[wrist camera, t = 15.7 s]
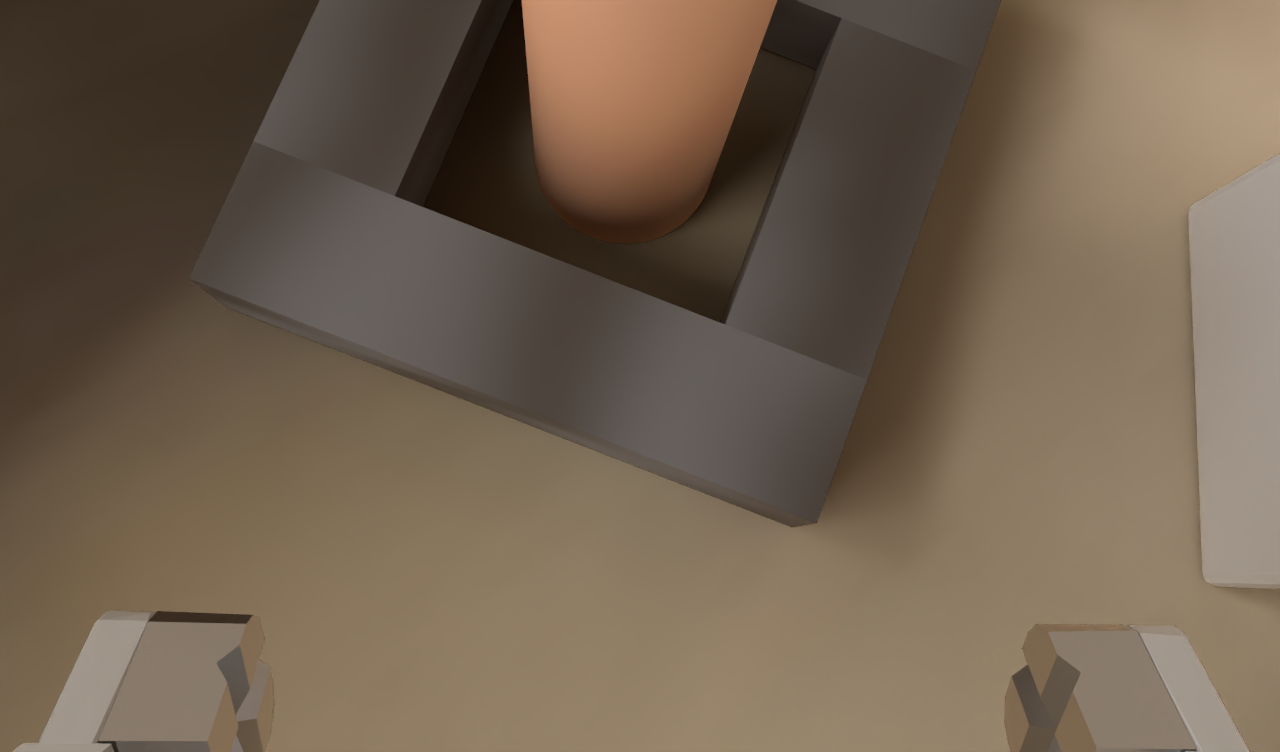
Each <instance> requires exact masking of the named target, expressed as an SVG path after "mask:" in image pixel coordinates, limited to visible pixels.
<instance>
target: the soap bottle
mask: <svg viewBox="0 0 1280 752" xmlns="http://www.w3.org/2000/svg"><path fill="white" fill-rule="evenodd" d="M1188 221H1189V247H1190V272H1191V298H1192V323H1193V349H1194V374H1195V400H1196V426H1197V451H1198V477H1199V502H1200V528H1201V553H1202V574H1203V577H1204V580H1205V581H1206V582H1207V583H1209V584H1211V585H1214V586H1216V587H1240V588H1264V589H1280V153H1279V154H1278V155H1276V156H1274V157H1273V158H1271V159H1269V160H1267V161H1266V162H1264V163H1262V164H1261V165H1259V166H1257V167H1255V168H1254V169H1252V170H1250V171H1249V172H1247V173H1245V174H1243V175H1242V176H1240V177H1238V178H1237V179H1235V180H1233V181H1231V182H1230V183H1228V184H1226V185H1225V186H1223V187H1221V188H1219V189H1218V190H1216V191H1214V192H1213V193H1211V194H1209V195H1207V196H1206V197H1204V198H1202V199H1201V200H1199V201H1197V202H1195V203H1194V204H1192V206H1191V207H1190V210H1189V214H1188Z"/></svg>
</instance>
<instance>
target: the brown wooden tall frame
mask: <svg viewBox="0 0 1280 752" xmlns="http://www.w3.org/2000/svg"><path fill="white" fill-rule="evenodd" d="M512 2H513V0H320V1H319V3H318V5H317V7H316V9H315V11H314V13H313V16H312V18H311V20H310V22H309V24H308V26H307V28H306V30H305V32H304V35H303V37H302V39H301V41H300V43H299V45H298V47H297V49H296V52H295V54H294V56H293V58H292V60H291V62H290V64H289V66H288V69H287V71H286V73H285V75H284V77H283V79H282V81H281V83H280V86H279V88H278V90H277V92H276V94H275V96H274V98H273V100H272V102H271V105H270V107H269V109H268V111H267V113H266V115H265V117H264V119H263V122H262V124H261V126H260V128H259V130H258V132H257V134H256V136H255V139H254V141H253V143H252V145H251V147H250V149H249V151H248V153H247V156H246V158H245V160H244V162H243V164H242V166H241V168H240V170H239V172H238V175H237V177H236V179H235V181H234V183H233V185H232V187H231V189H230V192H229V194H228V196H227V198H226V200H225V202H224V204H223V206H222V209H221V211H220V213H219V215H218V217H217V219H216V221H215V223H214V226H213V228H212V230H211V232H210V234H209V236H208V238H207V240H206V242H205V245H204V247H203V249H202V251H201V253H200V255H199V257H198V259H197V262H196V264H195V266H194V268H193V270H192V272H191V274H190V276H189V279H190V280H192V281H193V282H194V283H196V284H197V285H198V286H200V287H201V288H202V289H203V290H205V291H206V292H207V293H209V294H210V295H211V296H213V297H214V298H215V299H217V300H218V301H219V302H221V303H222V304H223V305H225V306H226V307H228V308H231V309H233V310H236V311H238V312H241V313H243V314H246V315H248V316H251V317H254V318H256V319H259V320H261V321H264V322H266V323H269V324H272V325H274V326H277V327H279V328H282V329H284V330H287V331H290V332H292V333H295V334H297V335H300V336H302V337H305V338H308V339H310V340H313V341H315V342H318V343H320V344H323V345H325V346H328V347H331V348H333V349H336V350H338V351H341V352H343V353H346V354H349V355H351V356H354V357H356V358H359V359H361V360H364V361H367V362H369V363H372V364H374V365H377V366H379V367H382V368H385V369H387V370H390V371H392V372H395V373H397V374H400V375H403V376H405V377H408V378H410V379H413V380H415V381H418V382H420V383H423V384H426V385H428V386H431V387H433V388H436V389H438V390H441V391H444V392H446V393H449V394H451V395H454V396H456V397H459V398H462V399H464V400H467V401H469V402H472V403H474V404H477V405H480V406H482V407H485V408H487V409H490V410H492V411H495V412H498V413H500V414H503V415H505V416H508V417H510V418H513V419H515V420H518V421H521V422H523V423H526V424H528V425H531V426H533V427H536V428H539V429H541V430H544V431H546V432H549V433H551V434H554V435H557V436H559V437H562V438H564V439H567V440H569V441H572V442H575V443H577V444H580V445H582V446H585V447H587V448H590V449H592V450H595V451H598V452H600V453H603V454H605V455H608V456H610V457H613V458H616V459H618V460H621V461H623V462H626V463H628V464H631V465H634V466H636V467H639V468H641V469H644V470H646V471H649V472H652V473H654V474H657V475H659V476H662V477H664V478H667V479H670V480H672V481H675V482H677V483H680V484H682V485H685V486H687V487H690V488H693V489H695V490H698V491H700V492H703V493H705V494H708V495H711V496H713V497H716V498H718V499H721V500H723V501H726V502H729V503H731V504H734V505H736V506H739V507H741V508H744V509H747V510H749V511H752V512H754V513H757V514H759V515H762V516H765V517H767V518H770V519H772V520H775V521H777V522H780V523H782V524H785V525H788V526H790V527H797V526H802V525H808V524H814V523H817V521H818V518H819V515H820V512H821V510H822V507H823V504H824V501H825V498H826V495H827V493H828V490H829V487H830V484H831V481H832V478H833V475H834V473H835V470H836V467H837V464H838V461H839V458H840V456H841V453H842V450H843V447H844V444H845V441H846V439H847V436H848V433H849V430H850V427H851V424H852V422H853V419H854V416H855V413H856V410H857V407H858V405H859V402H860V399H861V396H862V393H863V390H864V388H865V385H866V382H867V379H868V376H869V373H870V371H871V368H872V365H873V362H874V359H875V356H876V353H877V351H878V348H879V345H880V342H881V339H882V336H883V334H884V331H885V328H886V325H887V322H888V319H889V317H890V314H891V311H892V308H893V305H894V302H895V300H896V297H897V294H898V291H899V288H900V285H901V283H902V280H903V277H904V274H905V271H906V268H907V266H908V263H909V260H910V257H911V254H912V251H913V249H914V246H915V243H916V240H917V237H918V234H919V232H920V229H921V226H922V223H923V220H924V217H925V214H926V212H927V209H928V206H929V203H930V200H931V197H932V195H933V192H934V189H935V186H936V183H937V180H938V178H939V175H940V172H941V169H942V166H943V163H944V161H945V158H946V155H947V152H948V149H949V146H950V144H951V141H952V138H953V135H954V132H955V129H956V127H957V124H958V121H959V118H960V115H961V112H962V110H963V107H964V104H965V101H966V98H967V95H968V92H969V90H970V87H971V84H972V81H973V78H974V75H975V73H976V70H977V67H978V64H979V61H980V58H981V56H982V53H983V50H984V47H985V44H986V41H987V39H988V36H989V33H990V30H991V27H992V24H993V22H994V19H995V16H996V13H997V10H998V7H999V5H1000V2H1001V0H777V3H776V5H775V8H774V11H773V14H772V16H771V19H770V22H769V24H768V27H767V30H766V33H765V35H764V38H763V41H762V43H761V46H760V48H763V49H766V50H768V51H771V52H773V53H776V54H778V55H781V56H784V57H786V58H789V59H791V60H794V61H796V62H799V63H802V64H804V65H807V66H809V67H812V68H814V69H816V71H815V74H814V76H813V79H812V82H811V84H810V87H809V90H808V92H807V95H806V98H805V100H804V103H803V105H802V108H801V111H800V113H799V116H798V119H797V121H796V124H795V126H794V129H793V132H792V134H791V137H790V140H789V142H788V145H787V148H786V150H785V153H784V155H783V158H782V161H781V163H780V166H779V169H778V171H777V174H776V176H775V179H774V182H773V184H772V187H771V190H770V192H769V195H768V197H767V200H766V203H765V205H764V208H763V211H762V213H761V216H760V219H759V221H758V224H757V226H756V229H755V232H754V234H753V237H752V240H751V242H750V245H749V247H748V250H747V253H746V255H745V258H744V261H743V263H742V266H741V269H740V271H739V274H738V276H737V279H736V282H735V284H734V287H733V290H732V292H731V295H730V297H729V300H728V303H727V305H726V308H725V311H724V313H723V316H722V318H721V321H720V322H717V321H715V320H712V319H709V318H707V317H704V316H702V315H699V314H697V313H694V312H691V311H689V310H686V309H684V308H681V307H679V306H676V305H673V304H671V303H668V302H666V301H663V300H661V299H658V298H655V297H653V296H650V295H648V294H645V293H643V292H640V291H637V290H635V289H632V288H630V287H627V286H625V285H622V284H619V283H617V282H614V281H612V280H609V279H607V278H604V277H601V276H599V275H596V274H594V273H591V272H589V271H586V270H583V269H581V268H578V267H576V266H573V265H571V264H568V263H565V262H563V261H560V260H558V259H555V258H553V257H550V256H547V255H545V254H542V253H540V252H537V251H535V250H532V249H529V248H527V247H524V246H522V245H519V244H517V243H514V242H511V241H509V240H506V239H504V238H501V237H499V236H496V235H493V234H491V233H488V232H486V231H483V230H481V229H478V228H475V227H473V226H470V225H468V224H465V223H463V222H460V221H457V220H455V219H452V218H450V217H447V216H445V215H442V214H439V213H437V212H434V211H432V210H429V209H427V208H424V207H423V206H424V203H425V201H426V199H427V197H428V194H429V192H430V190H431V187H432V185H433V183H434V181H435V178H436V176H437V174H438V171H439V169H440V167H441V165H442V162H443V160H444V158H445V155H446V153H447V151H448V149H449V146H450V144H451V142H452V139H453V137H454V135H455V133H456V130H457V128H458V126H459V123H460V121H461V119H462V117H463V114H464V112H465V110H466V107H467V105H468V103H469V101H470V98H471V96H472V94H473V91H474V89H475V87H476V85H477V82H478V80H479V78H480V75H481V73H482V71H483V69H484V66H485V64H486V62H487V60H488V57H489V55H490V53H491V50H492V48H493V46H494V44H495V41H496V39H497V37H498V34H499V32H500V30H501V28H502V25H503V23H504V21H505V18H506V16H507V14H508V12H509V9H510V7H511V5H512Z"/></svg>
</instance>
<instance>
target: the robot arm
mask: <svg viewBox="0 0 1280 752" xmlns="http://www.w3.org/2000/svg"><path fill="white" fill-rule="evenodd" d="M264 640H265V637H264V633H263V629H262V625H261V621H260V617H258V616H255V615H240V614H214V613H188V612H162V611H157V612H145V611H114V610H107V611H106V612H105V613H104V614H103V615H102V616H101V617H100V618H99V619H98V620H97V621H96V622H95V623H94V626H93V628H92V630H91V632H90V634H89V636H88V638H87V640H86V643H85V645H84V647H83V649H82V651H81V653H80V655H79V657H78V659H77V662H76V664H75V666H74V668H73V670H72V672H71V674H70V676H69V678H68V681H67V683H66V685H65V687H64V689H63V691H62V693H61V695H60V697H59V700H58V702H57V704H56V706H55V708H54V710H53V712H52V714H51V716H50V719H49V721H48V723H47V725H46V727H45V729H44V731H43V733H42V736H41V738H40V740H39V742H38V743H22V744H21V745H19V746H18V747H17V748H16V749H14V750H13V751H12V752H266V751H267V747H268V743H269V739H270V735H271V729H272V721H273V713H274V683H273V678H272V672H271V668H270V667H269V666H268V665H266V664H265V663H264V662H263V661H262V660H260V659H259V657H260V654H261V650H262V647H263V643H264ZM1022 650H1023V653H1024V655H1025V658H1026V661H1027V663H1028V665H1027V666H1025V667H1024V668H1022V669H1021V670H1020V671H1018V672H1017V673H1016V674H1014V675H1013V676H1012V677H1011V680H1010V684H1009V687H1008V690H1007V693H1006V697H1005V728H1006V733H1007V739H1008V744H1009V747H1010V750H1011V752H1250V750H1249V749H1248V747H1247V745H1246V743H1245V741H1244V739H1243V738H1242V736H1241V734H1240V732H1239V730H1238V729H1237V727H1236V725H1235V723H1234V721H1233V720H1232V718H1231V716H1230V714H1229V712H1228V711H1227V709H1226V707H1225V705H1224V703H1223V702H1222V700H1221V698H1220V696H1219V694H1218V693H1217V691H1216V689H1215V687H1214V685H1213V684H1212V682H1211V680H1210V678H1209V676H1208V675H1207V673H1206V671H1205V669H1204V667H1203V666H1202V664H1201V662H1200V660H1199V658H1198V657H1197V655H1196V653H1195V651H1194V649H1193V648H1192V646H1191V644H1190V642H1189V640H1188V639H1187V637H1186V635H1185V633H1184V632H1183V631H1181V630H1180V629H1179V628H1178V627H1176V626H1175V625H1128V626H1124V625H1087V624H1036V625H1035V626H1034V627H1033V628H1032V629H1031V630H1030V631H1029V632H1028V634H1027V636H1026V639H1025V642H1024V644H1023V647H1022Z"/></svg>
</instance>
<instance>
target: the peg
mask: <svg viewBox="0 0 1280 752" xmlns="http://www.w3.org/2000/svg"><path fill="white" fill-rule="evenodd" d="M776 3H777V0H522V10H523V22H524V34H525V46H526V58H527V70H528V82H529V94H530V106H531V118H532V130H533V142H534V154H535V166H536V172H537V177H538V181H539V183H540V186H541V189H542V191H543V193H544V195H545V197H546V199H547V201H548V202H549V203H550V205H551V206H552V208H553V209H554V210H555V211H556V212H557V214H558V215H559V216H560V217H561V218H562V219H563V220H565V221H566V222H567V223H568V224H569V225H571V226H572V227H574V228H575V229H577V230H578V231H580V232H582V233H584V234H586V235H588V236H590V237H593V238H596V239H599V240H602V241H607V242H612V243H625V244H628V243H640V242H645V241H649V240H653V239H656V238H658V237H661V236H663V235H665V234H667V233H669V232H671V231H673V230H674V229H676V228H677V227H679V226H680V225H682V224H683V223H684V222H685V221H686V220H687V219H688V218H690V216H691V215H692V214H693V213H694V212H695V211H696V209H697V208H698V207H699V205H700V203H701V202H702V200H703V199H704V196H705V194H706V192H707V190H708V188H709V185H710V182H711V179H712V177H713V174H714V171H715V169H716V166H717V163H718V160H719V158H720V155H721V152H722V149H723V147H724V144H725V141H726V139H727V136H728V133H729V130H730V128H731V125H732V122H733V120H734V117H735V114H736V111H737V109H738V106H739V103H740V101H741V98H742V95H743V92H744V90H745V87H746V84H747V82H748V79H749V76H750V73H751V71H752V68H753V65H754V62H755V60H756V57H757V54H758V52H759V49H760V46H761V43H762V41H763V38H764V35H765V33H766V30H767V27H768V24H769V22H770V19H771V16H772V14H773V11H774V8H775V5H776Z"/></svg>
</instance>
